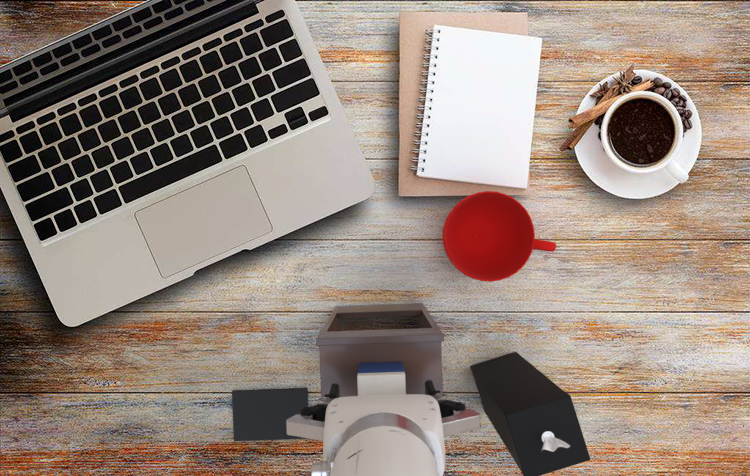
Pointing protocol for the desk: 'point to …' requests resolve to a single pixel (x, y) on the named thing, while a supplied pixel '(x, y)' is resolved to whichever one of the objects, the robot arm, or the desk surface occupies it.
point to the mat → (266, 413)
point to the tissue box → (530, 415)
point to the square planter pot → (380, 348)
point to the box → (381, 378)
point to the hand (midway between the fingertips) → (382, 396)
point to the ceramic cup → (490, 236)
